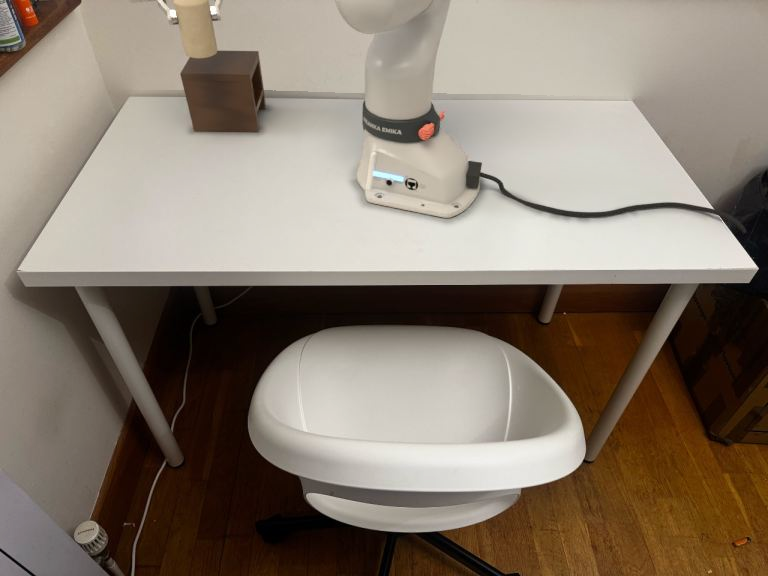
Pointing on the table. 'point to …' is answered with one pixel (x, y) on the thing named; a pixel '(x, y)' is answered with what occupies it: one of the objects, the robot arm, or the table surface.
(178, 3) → the candle
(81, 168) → the table surface
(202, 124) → the shelf
